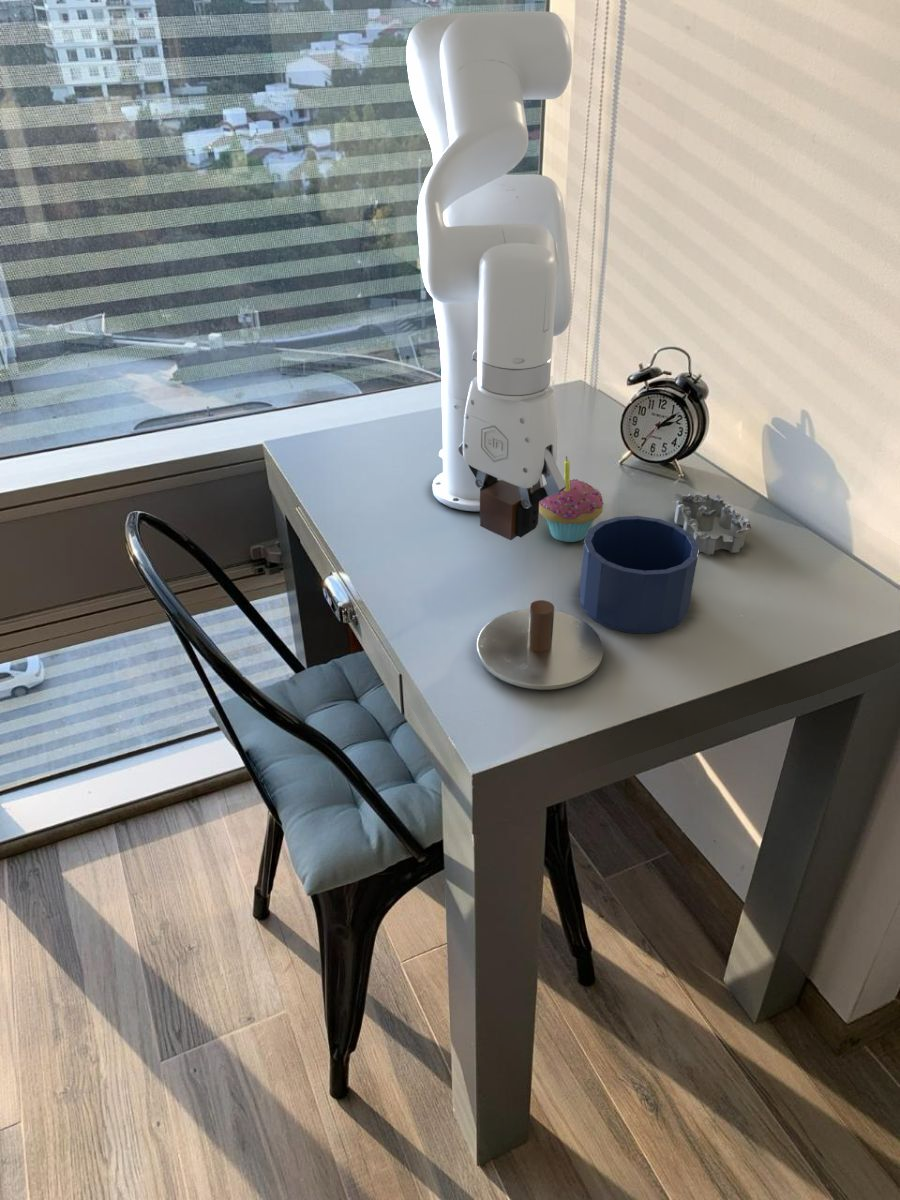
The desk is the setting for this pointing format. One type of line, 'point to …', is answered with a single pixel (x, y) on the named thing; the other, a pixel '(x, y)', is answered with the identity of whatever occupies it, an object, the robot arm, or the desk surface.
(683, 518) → the egg carton
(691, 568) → the blue bowl
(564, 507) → the cupcake
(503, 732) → the desk surface
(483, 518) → the block
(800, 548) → the desk surface
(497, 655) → the lid
